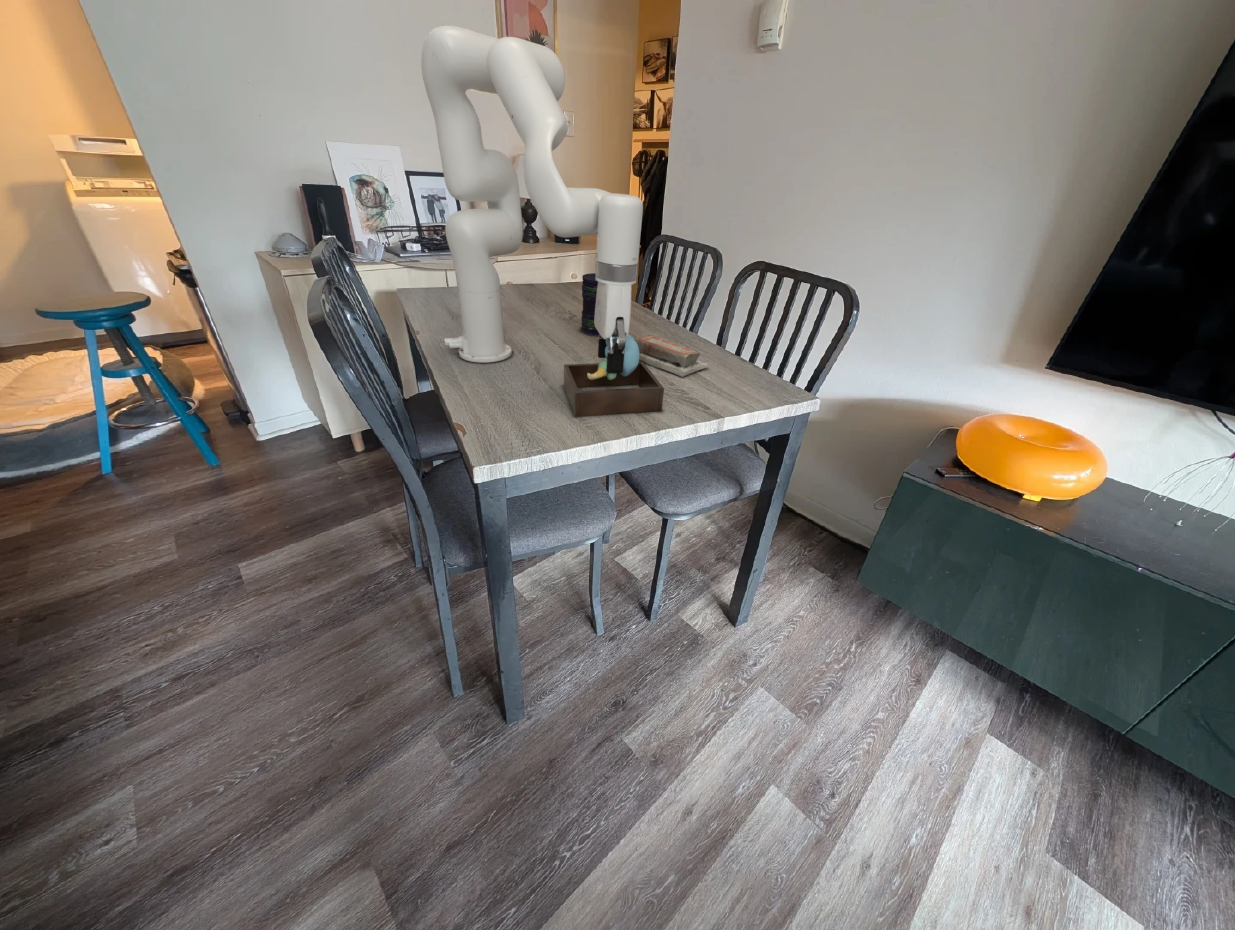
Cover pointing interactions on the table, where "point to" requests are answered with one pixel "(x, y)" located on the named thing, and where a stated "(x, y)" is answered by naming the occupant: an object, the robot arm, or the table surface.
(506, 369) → the table surface
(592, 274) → the storage jar
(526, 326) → the table surface
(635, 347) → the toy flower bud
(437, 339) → the table surface
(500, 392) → the table surface
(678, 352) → the packaged product
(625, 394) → the crate
